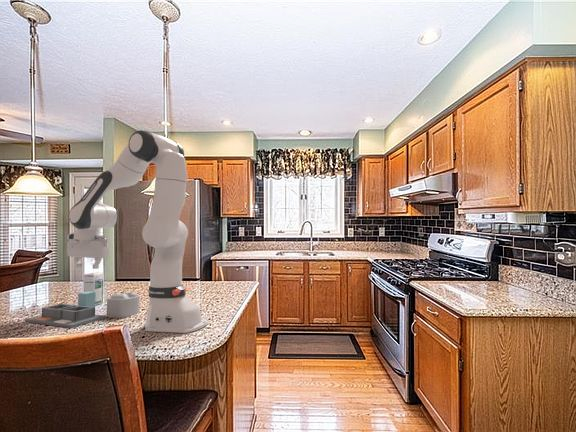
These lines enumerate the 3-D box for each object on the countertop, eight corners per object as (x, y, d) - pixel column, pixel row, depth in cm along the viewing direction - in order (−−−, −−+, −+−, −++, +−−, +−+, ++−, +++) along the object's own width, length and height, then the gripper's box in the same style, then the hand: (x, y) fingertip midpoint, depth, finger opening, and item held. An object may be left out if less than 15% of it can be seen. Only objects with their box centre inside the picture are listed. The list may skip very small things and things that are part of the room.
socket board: (105, 318, 134) (105, 306, 134) (71, 328, 120) (72, 315, 121) (61, 313, 142) (61, 302, 142) (25, 321, 128) (25, 309, 129)
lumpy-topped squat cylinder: (102, 316, 136) (103, 294, 137) (124, 309, 149) (125, 289, 149) (125, 318, 134) (125, 296, 135) (145, 310, 147) (146, 290, 147)
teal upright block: (95, 310, 146) (95, 291, 147) (85, 313, 142) (86, 293, 142) (87, 309, 148) (87, 291, 148) (77, 312, 144) (78, 293, 144)
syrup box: (93, 306, 155) (94, 274, 155) (82, 305, 156) (83, 273, 157) (103, 303, 160) (103, 272, 161) (92, 302, 162) (93, 272, 162)
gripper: (113, 236, 146) (112, 268, 145) (77, 235, 153) (76, 266, 152) (100, 236, 140) (99, 270, 139) (64, 235, 147) (63, 267, 146)
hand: (87, 268), depth 146 cm, fingers open, 8 cm apart
